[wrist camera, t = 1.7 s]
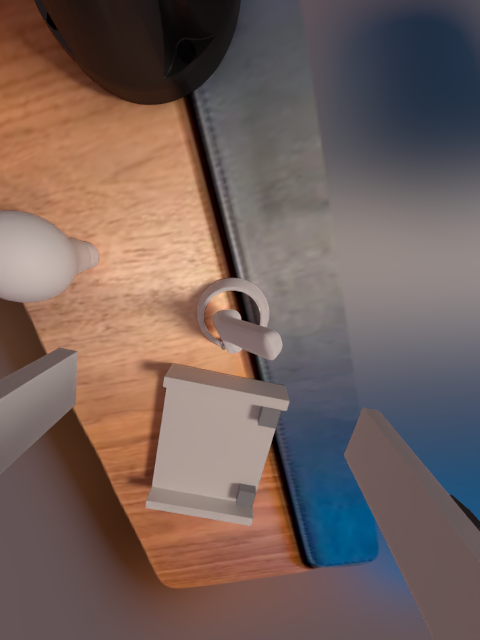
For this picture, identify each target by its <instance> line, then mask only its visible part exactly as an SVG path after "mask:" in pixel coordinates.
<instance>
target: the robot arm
mask: <svg viewBox="0 0 480 640" xmlns="http://www.w3.org/2000/svg"><path fill="white" fill-rule="evenodd" d="M34 1H35V3H36V5H37V7H38V9H39V11H40V13H41V15H42V17H43V19H44V21H45V22H46V24H47V26H48V27H49V29H50V30H51V32H52V33H53V35H54V36H55V38H56V39H57V41H58V42H59V43H60V45H61V46H62V47H63V49H64V50H65V51H66V52H67V53H68V54H69V56H70V57H71V58H72V59H73V60H74V61H75V62H76V63H77V64H78V65H79V67H80V68H81V69H82V70H83V71H84V72H85V73H86V74H87V75H88V76H89V77H90V78H91V79H92V80H93V81H94V82H96V83H97V84H98V85H99V86H101V87H102V88H104V89H105V90H107V91H108V92H110V93H112V94H113V95H116V96H118V97H120V98H122V99H125V100H128V101H131V102H135V103H141V104H162V103H167V102H171V101H175V100H177V99H180V98H182V97H184V96H186V95H188V94H190V93H191V92H193V91H194V90H196V89H197V88H198V87H200V86H201V85H202V84H203V83H204V82H205V81H206V80H207V79H208V78H209V77H210V76H211V75H212V74H213V72H214V71H215V70H216V68H217V67H218V66H219V64H220V62H221V61H222V59H223V57H224V56H225V54H226V52H227V50H228V47H229V45H230V43H231V40H232V38H233V35H234V31H235V28H236V24H237V20H238V15H239V9H240V2H241V0H34ZM76 374H77V351H74V350H68V349H63V348H58V349H57V350H55V351H53V352H51V353H49V354H47V355H45V356H44V357H42V358H40V359H38V360H37V361H34V362H32V363H31V364H29V365H27V366H25V367H23V368H22V369H20V370H18V371H16V372H14V373H12V374H10V375H8V376H7V377H5V378H3V379H1V380H0V474H1V473H2V472H3V471H4V470H5V469H6V468H8V467H9V466H10V465H11V464H12V463H13V462H14V461H15V460H16V459H17V458H18V457H19V456H20V455H22V454H23V453H24V452H25V451H26V450H27V449H28V448H29V447H30V446H31V445H32V444H33V443H34V442H36V441H37V440H38V439H39V438H40V437H41V436H42V435H43V434H44V433H45V432H46V431H47V430H48V429H49V428H51V427H52V426H53V425H54V424H55V423H56V422H57V421H58V420H59V419H60V418H61V417H62V416H63V415H65V414H66V413H67V412H68V411H69V410H70V409H71V408H72V407H73V406H74V405H75V401H76ZM344 456H345V458H346V460H347V462H348V464H349V466H350V468H351V470H352V472H353V475H354V477H355V479H356V481H357V483H358V485H359V487H360V489H361V491H362V493H363V495H364V497H365V499H366V501H367V503H368V505H369V507H370V509H371V511H372V514H373V516H374V518H375V520H376V522H377V524H378V526H379V528H380V530H381V532H382V534H383V536H384V538H385V540H386V542H387V544H388V546H389V548H390V550H391V552H392V555H393V556H394V559H395V561H396V563H397V565H398V567H399V569H400V571H401V573H402V575H403V577H404V579H405V581H406V583H407V585H408V587H409V589H410V591H411V594H412V596H413V598H414V600H415V602H416V604H417V606H418V608H419V610H420V612H421V614H422V616H423V618H424V620H425V622H426V624H427V626H428V628H429V630H430V632H431V635H432V637H433V639H434V640H480V521H479V520H478V519H477V518H476V517H475V516H474V515H473V513H471V511H470V510H469V509H468V508H466V507H465V506H464V505H463V504H462V503H461V502H459V501H458V500H457V499H456V498H455V497H454V496H452V495H449V494H448V493H447V492H446V491H445V489H444V488H443V487H442V486H441V485H440V483H439V482H438V481H437V480H436V479H435V477H434V476H433V475H432V474H431V473H430V472H429V470H428V469H427V468H426V467H425V465H424V464H423V463H422V462H421V461H420V459H419V458H418V457H417V456H416V455H415V453H414V452H413V451H412V450H411V449H410V448H409V446H408V445H407V444H406V443H405V441H404V440H403V439H402V438H401V437H400V436H399V434H398V433H397V432H396V431H395V429H394V428H393V427H392V426H391V425H390V423H389V422H388V421H387V420H386V419H385V417H384V416H383V415H382V414H381V413H380V411H376V410H372V409H367V408H363V410H362V412H361V414H360V417H359V419H358V422H357V424H356V427H355V429H354V432H353V434H352V437H351V439H350V442H349V444H348V447H347V449H346V452H345V454H344Z"/></svg>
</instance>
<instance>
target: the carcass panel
mask: <svg viewBox="0 0 480 640" xmlns="http://www.w3.org/2000/svg"><path fill="white" fill-rule="evenodd" d="M163 387H166V395H165V402H164V408H163V415H162V422H161V428H160V435H159V442H158V449H157V455H156V462H155V469H154V475H153V482H152V487H151V490H150V493H149V495H148V498H147V500H146V507H145V508H150V509H156V510H162V511H167V512H173V513H179V514H185V515H191V516H196V517H202V518H208V519H214V520H220V521H225V522H231V523H237V524H243V525H249V526H251V524H252V521H253V502H254V498H255V495H256V491H257V488H258V485H259V481H260V478H261V475H262V471H263V468H264V465H265V461H266V458H267V455H268V452H269V448H270V445H271V442H272V438H273V435H274V432H275V429H276V426H277V423H278V419H279V416H280V413H281V410H284V411H287V408H288V405H289V398H288V394H287V391H286V388H285V386H284V385H279V384H274V383H268V382H263V381H258V380H253V379H248V378H243V377H238V376H233V375H228V374H223V373H218V372H213V371H208V370H203V369H198V368H193V367H188V366H183V365H178V364H173V363H172V365H171V367H170V368H169V370H168V372H167V373H166V375H165V376H164V383H163Z"/></svg>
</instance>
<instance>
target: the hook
mask: <svg viewBox="0 0 480 640" xmlns="http://www.w3.org/2000/svg"><path fill="white" fill-rule="evenodd" d="M229 290H235V291H240V292H243V293H245V294H247V295H248V296H250V297H251V298H252V299H253V300H254V301H255V302H256V304H257V306H258V308H259V311H260V324H259V325H256V324H253V323H250V322H246V321H243V320H241V316H240V314H239V313H238V312H237V311H235V310H221V311H218V312H217V313H215V314H214V315H213V317H212V318H213V323H214V325H215V328H216V330H217V332H218V334H219V336H220V338H221V339H222V341H223V342H222V341H219V340H218V339H216V338H215V337H213V336H212V335H211V334H210V332H209V331H208V329H207V328H206V325H205V321H204V313H205V309H206V306H207V304H208V303H209V301H210V300H211V299H212V298H213V297H214V296H215V295H217V294H219V293H221V292H224V291H229ZM197 320H198V324H199V326H200V329H201V331H202V332H203V333H204V335H205V336H206V337H207V338H208V339H209V340H210V341H211V342H213V343H214V344H216V345H218V346H221V348H222V349H223V350H225V348H226V349H227V350H228V352H229V353H231V354H232V353H238V352H240V351H241V350H242V349H245V350H247V351H249V352H252V353H254V354H256V355H259V356H261V357H263V358H266V359H268V360H274V359H275V358H276V357H277V356H278V354H279V353H280V351H281V350H282V340H281V338H280V335H279V334H278V333H277V332H276V331H274V330H272V329H269V328H266V327H267V324H268V321H269V306H268V303H267V300H266V298H265V296H264V295H263V293H262V292H261V291H260V290H259V288H258V287H256V286H255V285H254V284H252V283H250V282H248V281H246V280H243V279H239V278H227V279H222V280H219V281H217V282H215V283H213V284H212V285H210V286H209V287H208V288H207V289H206V290H205V291H204V292H203V294H202V295H201V297H200V299H199V301H198V305H197Z"/></svg>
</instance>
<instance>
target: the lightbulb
mask: <svg viewBox="0 0 480 640" xmlns="http://www.w3.org/2000/svg"><path fill="white" fill-rule="evenodd" d="M99 260H100V255H99V251H98V250H97V248H96V247H95V246H94V245H93V244H91V243H89V242H85V241H79V240H78V239H75V238H71V237H67V236H66V235H65V234H64V233H63V232H62V231H61V230H60V229H59V228H58V227H56V226H55V225H54V224H52V223H51V222H49V221H48V220H46V219H44V218H41V217H39V216H37V215H34V214H32V213H28V212H22V211H17V210H2V211H0V298H3V299H5V300H10V301H16V302H40V301H44V300H48V299H51V298H53V297H55V296H57V295H59V294H60V293H62V292H63V291H64V290H65V289H67V288H68V286H69V285H70V284H71V283H72V281H73V279H74V277H75V275H76V274H79V273H82V272H84V271H85V270H86V269H90V268H93V267H95V266H96V265H97V264H98V263H99Z"/></svg>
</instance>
